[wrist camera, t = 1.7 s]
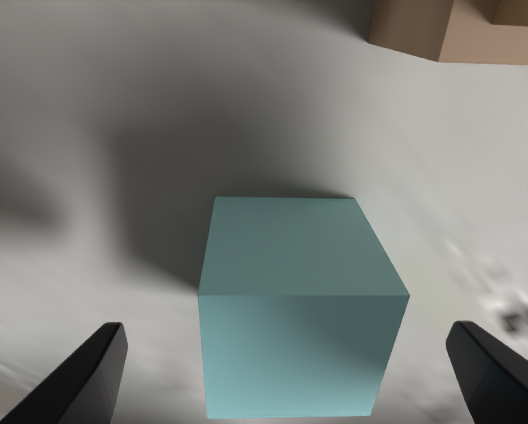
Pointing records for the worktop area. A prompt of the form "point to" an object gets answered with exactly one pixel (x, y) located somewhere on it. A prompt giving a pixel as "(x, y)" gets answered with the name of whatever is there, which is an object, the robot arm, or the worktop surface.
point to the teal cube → (295, 309)
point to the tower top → (511, 13)
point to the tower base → (448, 31)
